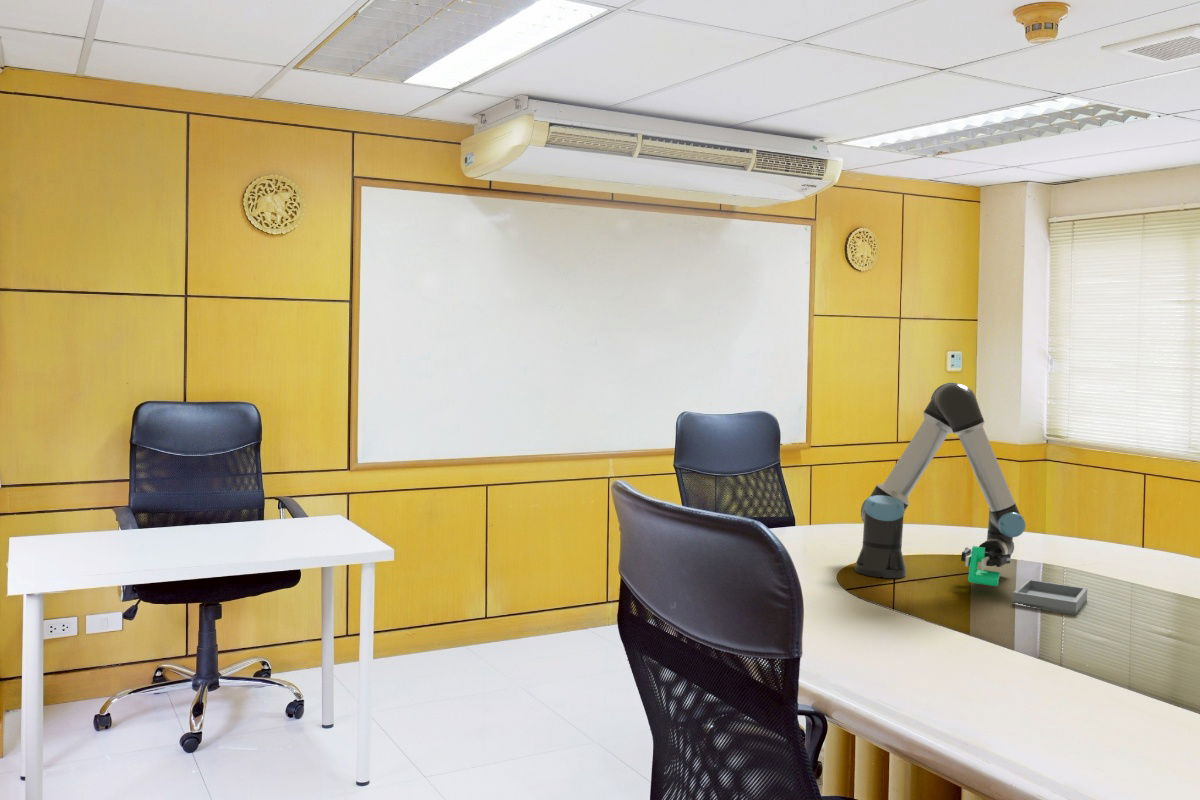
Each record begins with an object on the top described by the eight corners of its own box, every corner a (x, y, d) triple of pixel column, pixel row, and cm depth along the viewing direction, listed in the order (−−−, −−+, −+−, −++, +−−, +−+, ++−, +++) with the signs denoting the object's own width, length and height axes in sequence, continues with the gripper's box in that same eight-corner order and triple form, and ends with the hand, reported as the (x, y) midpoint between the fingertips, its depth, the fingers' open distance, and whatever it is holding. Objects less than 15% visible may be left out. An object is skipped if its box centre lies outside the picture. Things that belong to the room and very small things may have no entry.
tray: (1012, 604, 275) (1012, 592, 275) (1027, 590, 293) (1027, 579, 293) (1075, 615, 266) (1076, 602, 266) (1086, 600, 285) (1087, 588, 285)
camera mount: (996, 588, 281) (999, 553, 281) (967, 584, 285) (970, 549, 284) (999, 581, 292) (1002, 546, 292) (971, 577, 296) (974, 542, 295)
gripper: (1020, 569, 301) (1004, 581, 281) (963, 559, 310) (943, 571, 291) (1022, 544, 301) (1006, 555, 281) (965, 535, 310) (945, 545, 290)
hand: (974, 563), depth 286 cm, fingers closed on camera mount, 4 cm apart
